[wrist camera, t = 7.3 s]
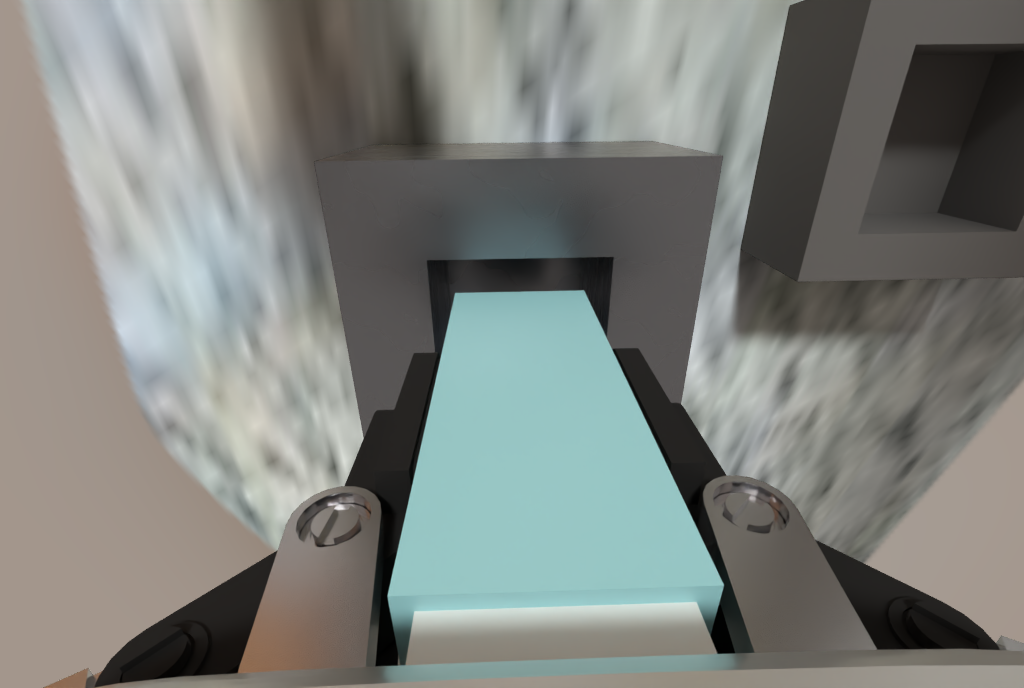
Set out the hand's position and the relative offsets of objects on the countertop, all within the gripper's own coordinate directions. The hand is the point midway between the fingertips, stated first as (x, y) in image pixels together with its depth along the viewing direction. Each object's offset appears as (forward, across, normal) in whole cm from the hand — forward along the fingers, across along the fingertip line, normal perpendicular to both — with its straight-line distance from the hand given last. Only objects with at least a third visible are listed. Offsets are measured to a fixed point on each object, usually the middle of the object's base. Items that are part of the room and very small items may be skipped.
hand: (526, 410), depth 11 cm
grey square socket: (+9, -13, -5) cm, 17 cm away
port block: (+9, 0, 0) cm, 9 cm away
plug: (+3, 0, 0) cm, 3 cm away
